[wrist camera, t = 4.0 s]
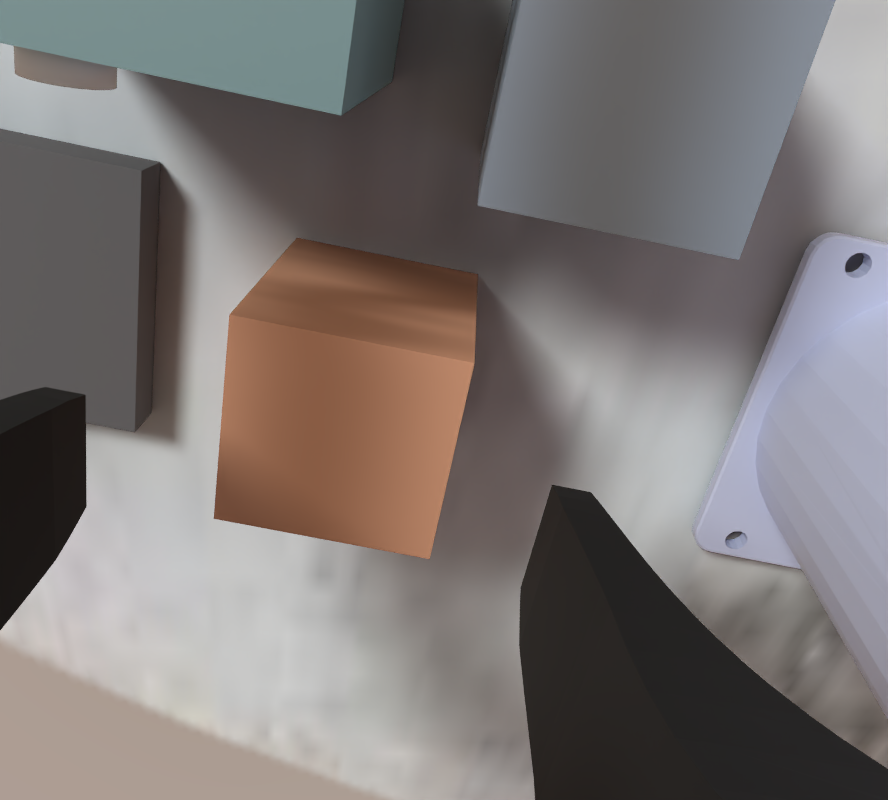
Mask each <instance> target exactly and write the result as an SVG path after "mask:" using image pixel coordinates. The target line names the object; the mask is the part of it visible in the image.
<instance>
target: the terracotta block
mask: <svg viewBox="0 0 888 800" xmlns="http://www.w3.org/2000/svg"><path fill="white" fill-rule="evenodd" d="M477 284H478V274H474V273H469V272H464V271H459V270H454V269H449V268H444V267H439V266H434V265H429V264H424V263H420V262H415V261H410V260H405V259H400V258H395V257H390V256H385V255H380V254H375V253H370V252H365V251H360V250H355V249H350V248H345V247H340V246H335V245H331V244H326V243H321V242H316V241H311V240H306V239H301V238H296V239H295V241H294V242H293V243H292V244H291V245H290V246H289V247H288V249H287V250H286V251H285V252H284V253H283V254H282V255H281V257H280V258H279V259H278V260H277V261H276V262H275V263H274V264H273V266H272V267H271V268H270V269H269V270H268V271H267V272H266V274H265V275H264V276H263V277H262V278H261V279H260V280H259V282H258V283H257V284H256V285H255V286H254V287H253V288H252V290H251V291H250V292H249V293H248V294H247V295H246V296H245V298H244V299H243V300H242V301H241V302H240V303H239V304H238V306H237V307H236V308H235V309H234V310H233V311H232V312H231V314H230V315H229V328H228V341H227V354H226V367H225V380H224V393H223V406H222V419H221V432H220V445H219V458H218V471H217V484H216V498H215V511H214V519H219V520H224V521H229V522H235V523H240V524H245V525H251V526H256V527H261V528H267V529H272V530H277V531H283V532H288V533H293V534H299V535H304V536H309V537H315V538H320V539H325V540H331V541H336V542H341V543H347V544H352V545H357V546H363V547H368V548H373V549H378V550H384V551H389V552H394V553H400V554H405V555H410V556H416V557H421V558H426V559H430V555H431V551H432V547H433V542H434V538H435V534H436V529H437V525H438V520H439V516H440V512H441V507H442V503H443V499H444V494H445V490H446V486H447V481H448V477H449V472H450V468H451V464H452V459H453V455H454V451H455V446H456V442H457V438H458V433H459V429H460V424H461V420H462V416H463V411H464V407H465V403H466V398H467V394H468V390H469V385H470V381H471V376H472V372H473V368H474V363H475V338H476V311H477Z"/></svg>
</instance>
